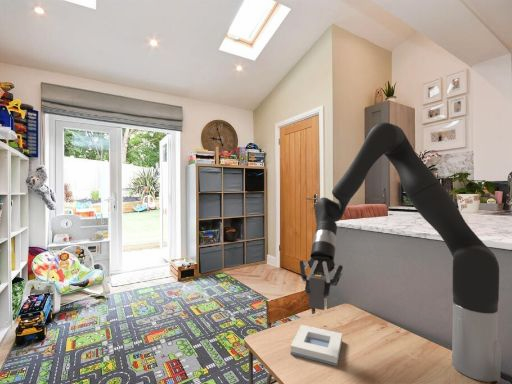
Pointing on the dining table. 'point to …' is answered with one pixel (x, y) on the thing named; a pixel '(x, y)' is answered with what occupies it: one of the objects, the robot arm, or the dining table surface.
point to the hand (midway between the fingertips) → (316, 295)
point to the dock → (317, 344)
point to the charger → (317, 292)
